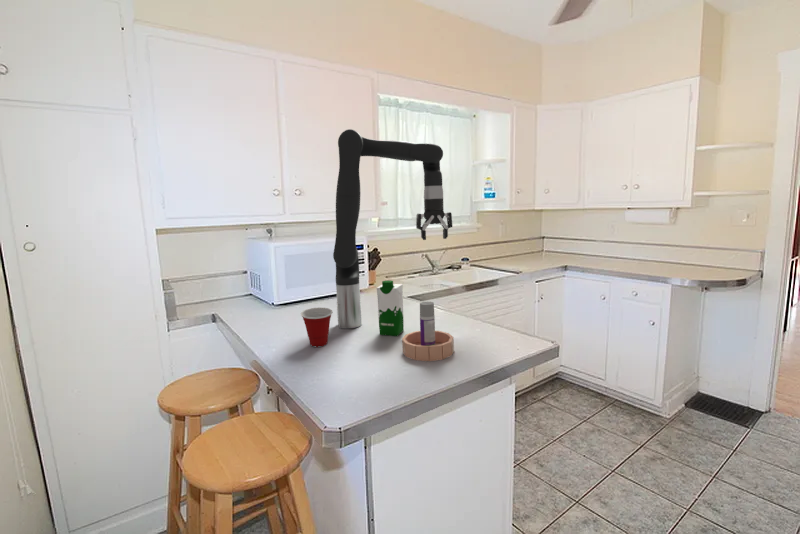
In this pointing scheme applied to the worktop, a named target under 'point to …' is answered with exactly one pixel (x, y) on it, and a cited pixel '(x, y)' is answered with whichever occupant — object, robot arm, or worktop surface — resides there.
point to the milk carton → (390, 308)
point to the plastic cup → (317, 325)
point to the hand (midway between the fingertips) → (434, 239)
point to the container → (427, 323)
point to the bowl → (428, 353)
